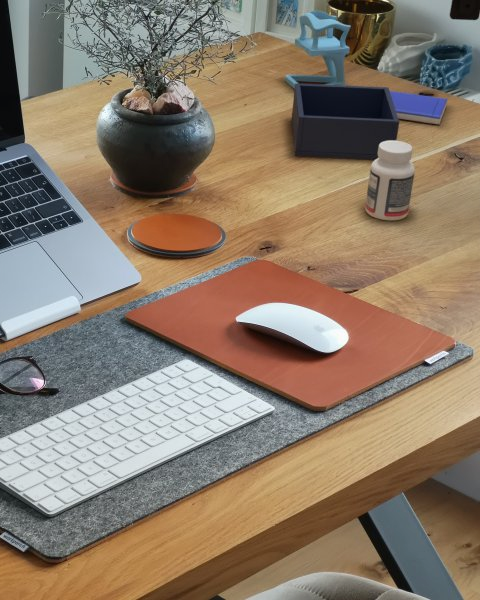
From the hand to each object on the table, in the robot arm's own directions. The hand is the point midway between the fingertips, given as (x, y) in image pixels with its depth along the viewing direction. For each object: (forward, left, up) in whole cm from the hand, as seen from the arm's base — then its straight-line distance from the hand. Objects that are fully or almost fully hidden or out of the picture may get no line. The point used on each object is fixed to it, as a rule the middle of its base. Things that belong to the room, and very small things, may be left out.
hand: (456, 6), depth 132 cm
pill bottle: (+5, +6, -24) cm, 26 cm away
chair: (+11, -39, -24) cm, 47 cm away
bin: (+9, -16, -24) cm, 31 cm away
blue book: (-1, -29, -24) cm, 38 cm away
